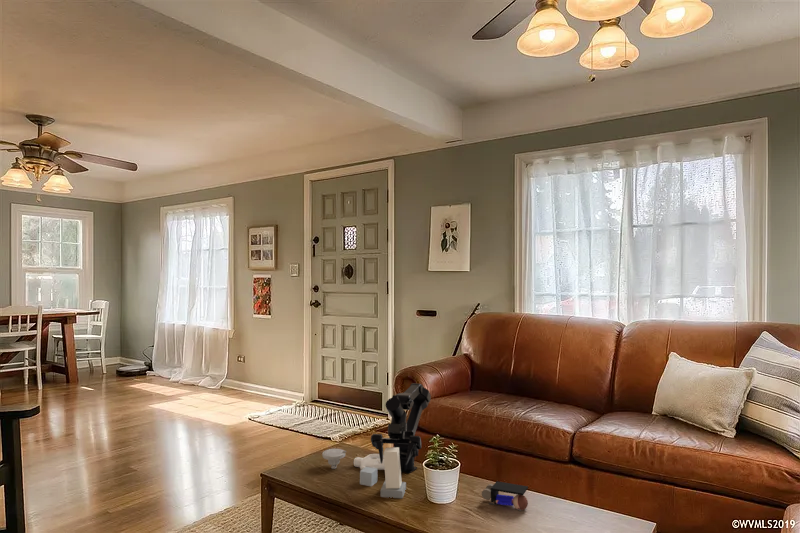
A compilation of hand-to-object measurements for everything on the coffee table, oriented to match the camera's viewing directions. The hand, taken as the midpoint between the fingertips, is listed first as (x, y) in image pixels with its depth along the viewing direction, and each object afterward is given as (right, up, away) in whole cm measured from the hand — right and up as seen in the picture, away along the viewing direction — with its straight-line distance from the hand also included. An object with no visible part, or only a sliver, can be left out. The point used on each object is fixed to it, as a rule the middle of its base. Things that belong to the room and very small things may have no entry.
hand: (393, 463), depth 183 cm
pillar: (0, -8, 0) cm, 8 cm away
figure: (-8, -12, +22) cm, 26 cm away
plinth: (0, -11, 0) cm, 11 cm away
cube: (-10, -11, +9) cm, 17 cm away
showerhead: (-25, -11, +24) cm, 36 cm away
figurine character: (+39, -11, -11) cm, 42 cm away
